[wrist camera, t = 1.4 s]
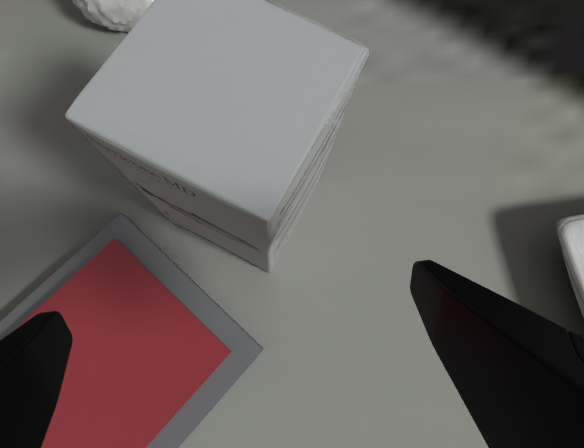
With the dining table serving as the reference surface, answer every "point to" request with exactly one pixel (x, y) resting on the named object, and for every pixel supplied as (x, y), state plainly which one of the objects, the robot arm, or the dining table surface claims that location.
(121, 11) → the sitting furry creature
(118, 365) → the ink pad tray
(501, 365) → the robot arm
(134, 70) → the supplement box
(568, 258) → the square plate
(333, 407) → the dining table surface
